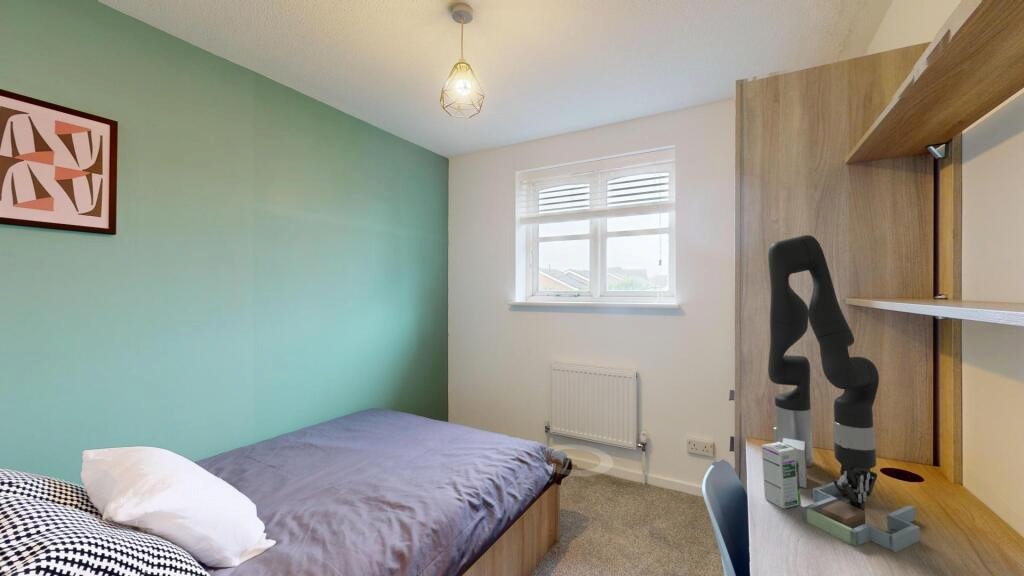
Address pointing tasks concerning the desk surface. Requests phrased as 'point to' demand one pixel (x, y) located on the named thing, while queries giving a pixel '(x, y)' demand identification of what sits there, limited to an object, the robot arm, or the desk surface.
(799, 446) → the small box
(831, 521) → the trap channel
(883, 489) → the desk surface
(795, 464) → the syrup box
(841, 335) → the robot arm
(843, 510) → the walnut block
